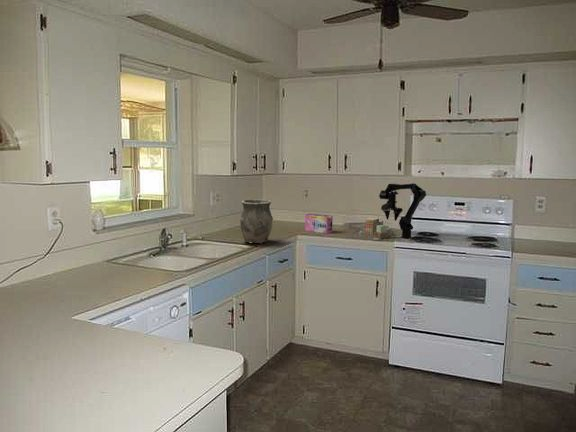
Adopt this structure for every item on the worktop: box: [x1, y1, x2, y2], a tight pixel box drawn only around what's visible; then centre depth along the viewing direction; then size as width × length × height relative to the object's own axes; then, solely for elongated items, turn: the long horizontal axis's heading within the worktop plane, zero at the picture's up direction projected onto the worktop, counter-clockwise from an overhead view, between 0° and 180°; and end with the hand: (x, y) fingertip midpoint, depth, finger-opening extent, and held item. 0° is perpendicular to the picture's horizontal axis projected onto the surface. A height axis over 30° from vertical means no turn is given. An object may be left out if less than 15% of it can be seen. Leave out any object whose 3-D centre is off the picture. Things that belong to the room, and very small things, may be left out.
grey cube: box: [386, 227, 392, 236], centre depth 370 cm, size 5×5×5 cm
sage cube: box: [376, 224, 387, 233], centre depth 358 cm, size 5×5×5 cm
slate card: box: [369, 237, 384, 242], centre depth 350 cm, size 7×7×1 cm
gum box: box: [304, 213, 334, 234], centre depth 385 cm, size 24×8×14 cm, turn 50°
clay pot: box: [239, 198, 274, 244], centre depth 338 cm, size 22×23×30 cm
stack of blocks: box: [364, 217, 384, 236], centre depth 377 cm, size 21×6×12 cm, turn 147°
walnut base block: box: [373, 232, 390, 239], centre depth 359 cm, size 8×8×4 cm
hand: (391, 220), depth 366 cm, fingers open, 9 cm apart
